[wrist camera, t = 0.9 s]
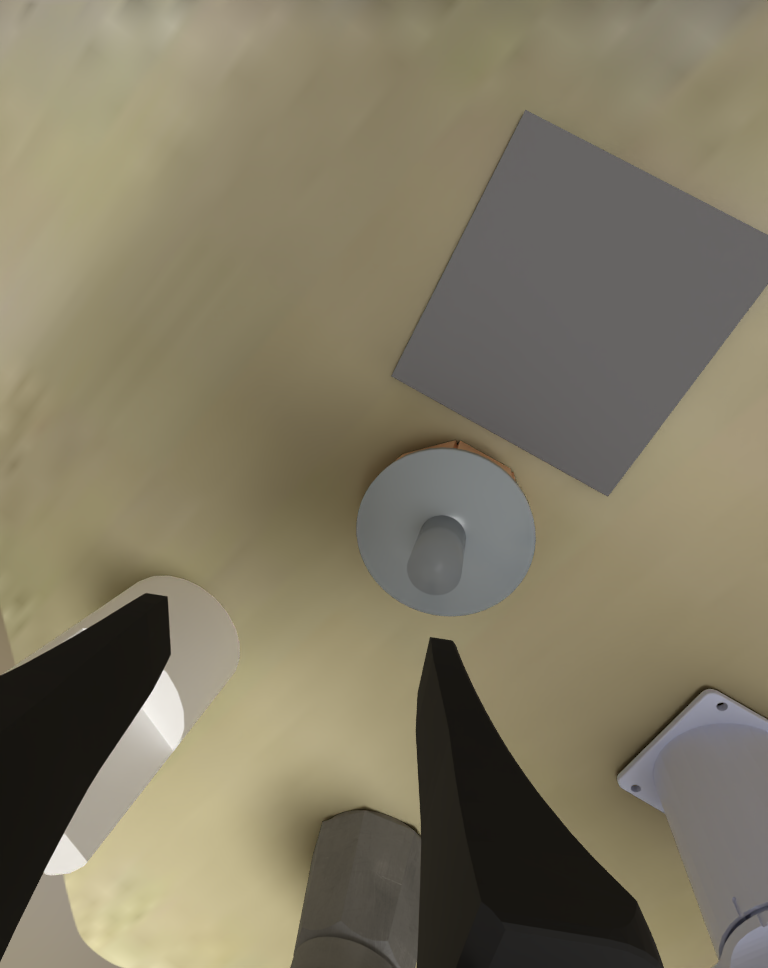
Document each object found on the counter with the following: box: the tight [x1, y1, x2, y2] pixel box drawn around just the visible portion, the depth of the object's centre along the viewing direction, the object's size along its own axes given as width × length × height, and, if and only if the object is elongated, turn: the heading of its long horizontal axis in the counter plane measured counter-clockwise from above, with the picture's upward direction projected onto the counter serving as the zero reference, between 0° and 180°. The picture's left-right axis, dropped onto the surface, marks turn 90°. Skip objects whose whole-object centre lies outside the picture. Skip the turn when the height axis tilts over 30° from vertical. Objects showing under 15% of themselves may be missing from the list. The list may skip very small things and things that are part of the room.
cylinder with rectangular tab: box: [3, 575, 240, 875], centre depth 26 cm, size 9×9×12 cm
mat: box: [392, 110, 768, 496], centre depth 21 cm, size 12×12×1 cm
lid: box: [357, 447, 536, 616], centre depth 21 cm, size 8×8×4 cm
